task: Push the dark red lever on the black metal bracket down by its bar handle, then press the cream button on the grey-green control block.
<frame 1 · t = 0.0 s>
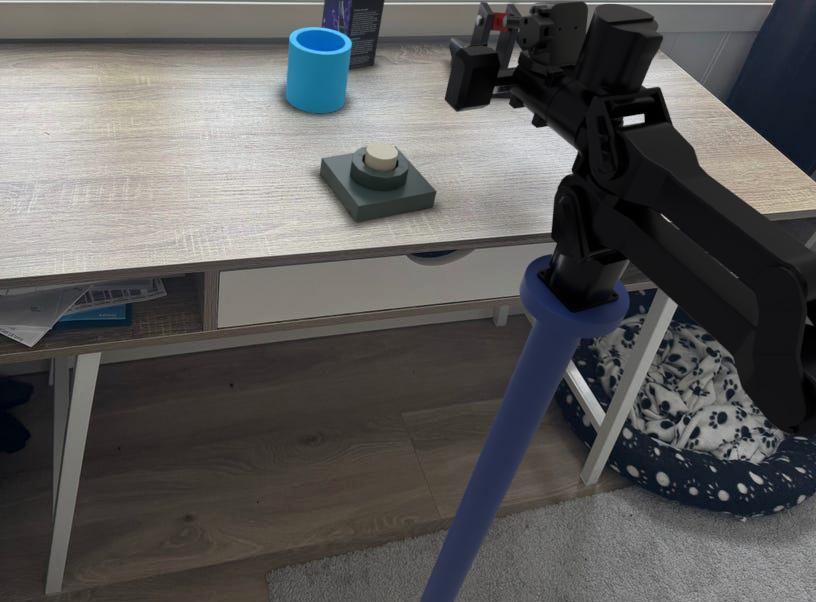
hand: (485, 38, 84), 15 cm above the table, tool horizontal, fingers open, 9 cm apart
box: (346, 57, 111), on the table
lever: (509, 22, 100), point 11 cm above the table, hinge at 22.0°
button: (381, 157, 83), point 4 cm above the table, slide at 0.1 cm
mug: (309, 92, 102), on the table
button block: (375, 190, 86), on the table
bracket: (482, 81, 110), on the table
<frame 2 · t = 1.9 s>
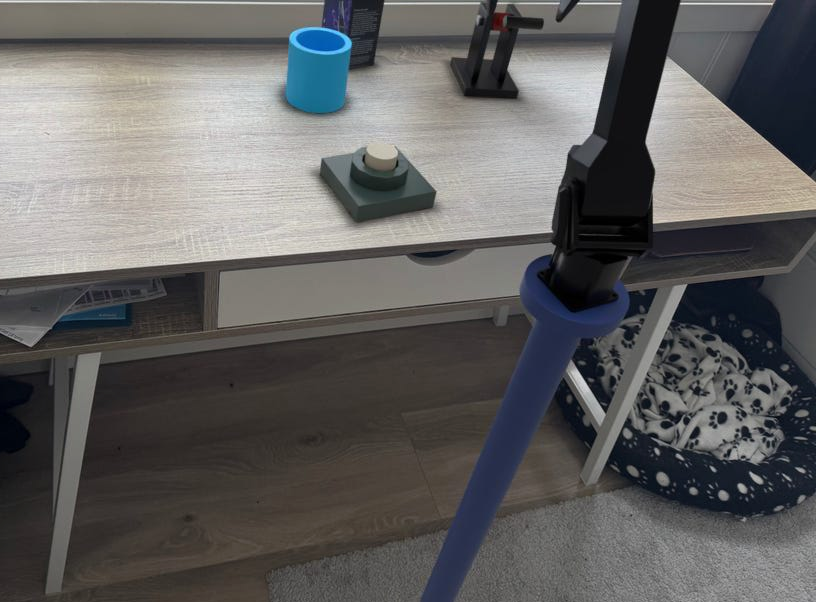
hand: (523, 18, 94), 13 cm above the table, tool pointing down, fingers open, 9 cm apart
nothing on the table moved.
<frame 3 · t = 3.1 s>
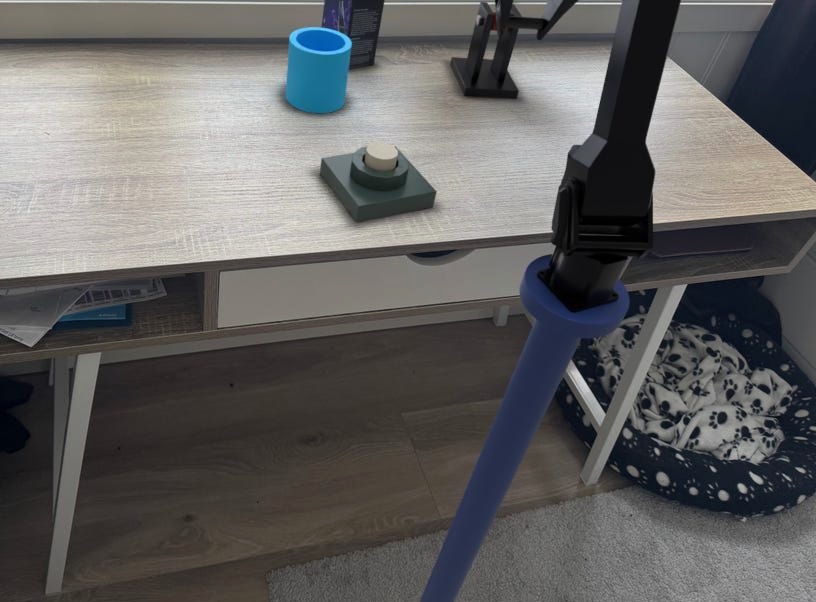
hand: (519, 37, 96), 11 cm above the table, tool pointing down, fingers closed on lever, 5 cm apart
lever: (509, 22, 100), point 11 cm above the table, hinge at 22.0°, touching gripper
everything else where it was.
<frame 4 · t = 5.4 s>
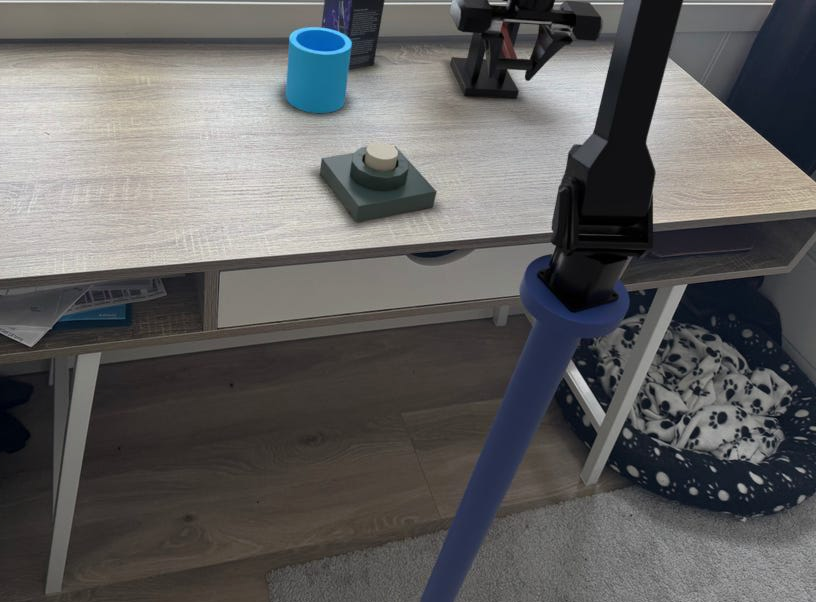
hand: (508, 78, 100), 5 cm above the table, tool pointing down, fingers closed on lever, 5 cm apart
lever: (504, 40, 101), point 8 cm above the table, hinge at -9.0°, touching gripper
everything else where it was.
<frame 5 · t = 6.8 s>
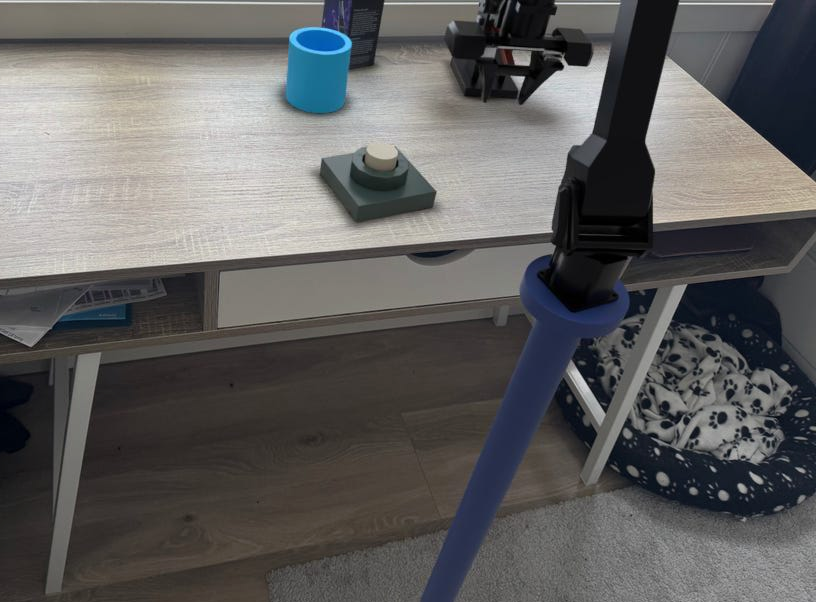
hand: (501, 102, 102), 2 cm above the table, tool pointing down, fingers open, 5 cm apart
lever: (503, 43, 101), point 8 cm above the table, hinge at -14.8°
everything else where it was.
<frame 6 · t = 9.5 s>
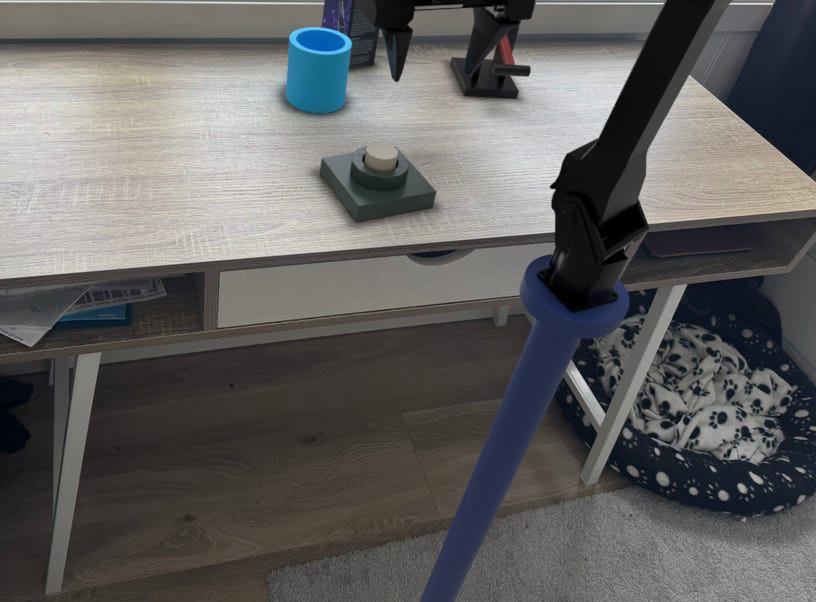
hand: (431, 76, 82), 12 cm above the table, tool pointing down, fingers open, 9 cm apart
nothing on the table moved.
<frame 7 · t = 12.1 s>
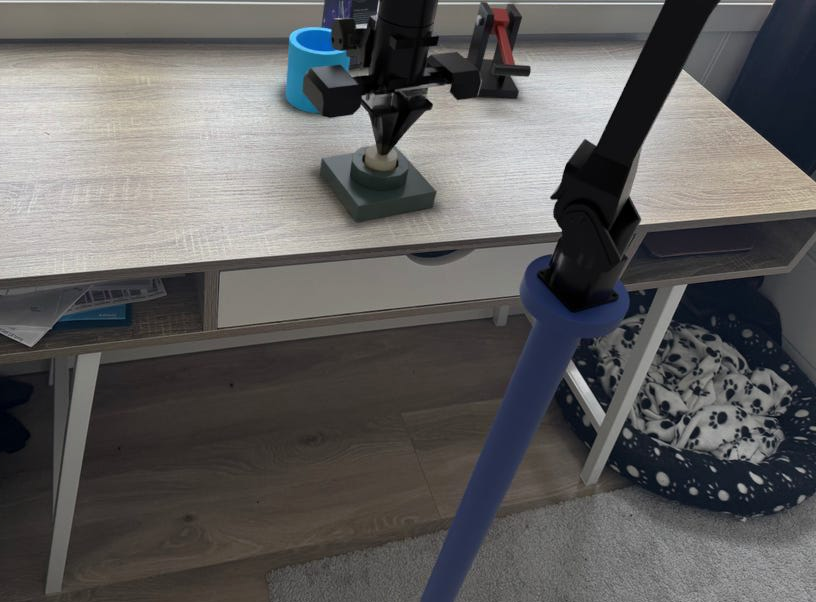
hand: (382, 153, 83), 5 cm above the table, tool pointing down, fingers closed, pressing on button
button: (380, 159, 83), point 4 cm above the table, slide at -0.2 cm, touching gripper
everything else where it was.
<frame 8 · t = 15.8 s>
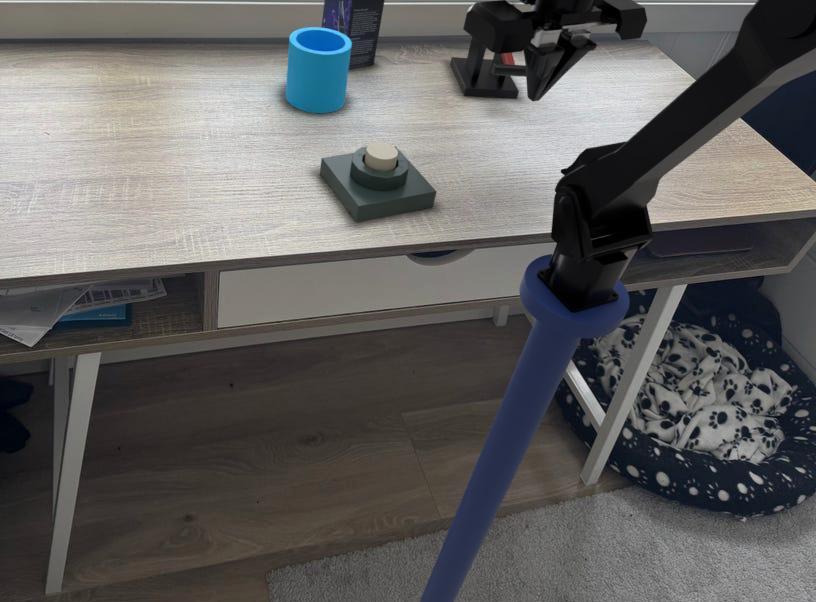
hand: (533, 99, 79), 13 cm above the table, tool pointing down, fingers closed
button: (381, 157, 83), point 5 cm above the table, slide at 0.1 cm
everything else where it was.
at the end: lever at -15° (first picture: +22°); button pushed in 1.1 cm at the most during the clip, back to where it started at the end; button slide at 0.1 cm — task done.
